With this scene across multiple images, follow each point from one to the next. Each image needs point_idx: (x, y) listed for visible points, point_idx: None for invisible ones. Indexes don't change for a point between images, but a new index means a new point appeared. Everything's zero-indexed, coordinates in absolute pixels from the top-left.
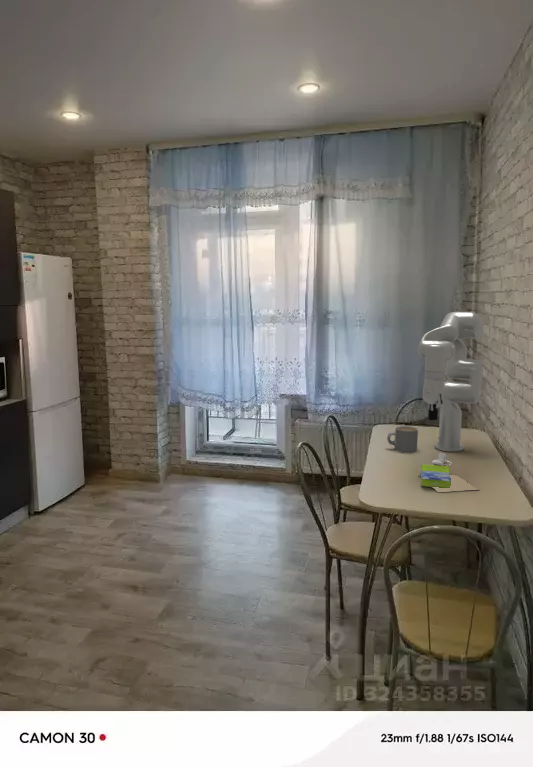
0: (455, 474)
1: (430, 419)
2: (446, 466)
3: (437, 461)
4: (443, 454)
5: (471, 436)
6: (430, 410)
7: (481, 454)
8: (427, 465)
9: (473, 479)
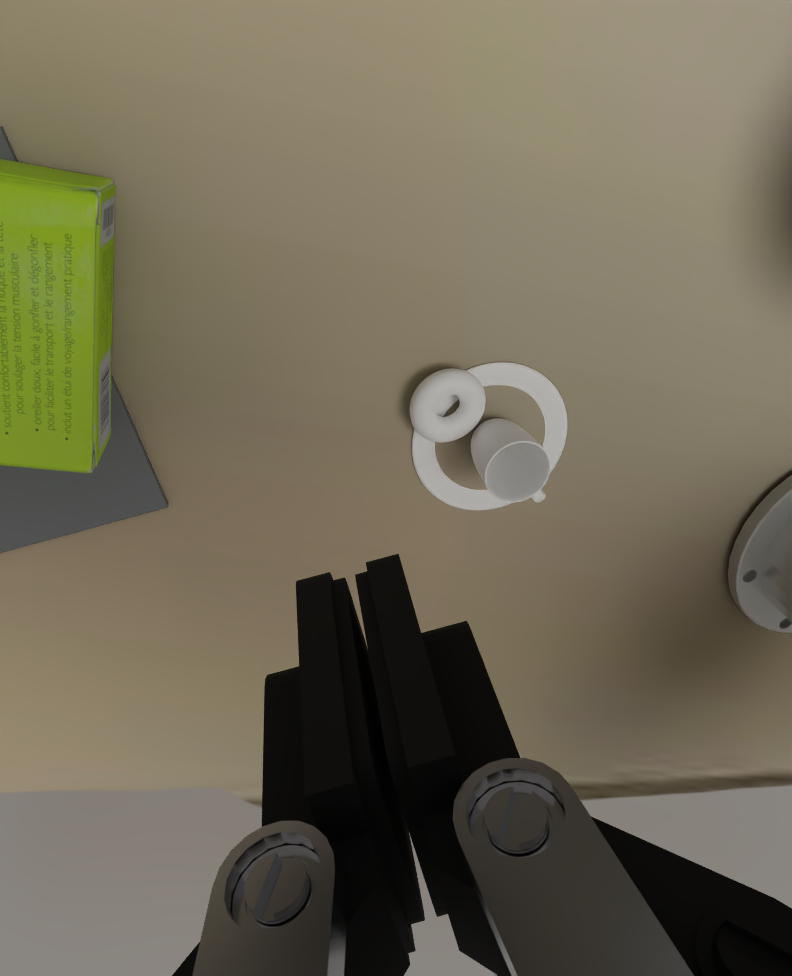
0: (159, 495)
1: (301, 594)
2: (75, 453)
3: (465, 405)
4: (536, 482)
5: None
6: (337, 802)
7: (653, 702)
8: (58, 257)
9: (84, 599)
